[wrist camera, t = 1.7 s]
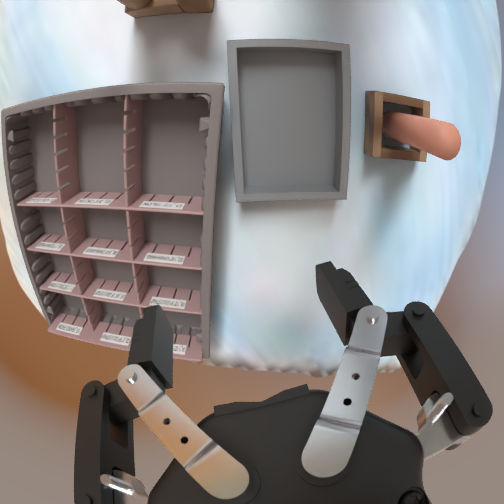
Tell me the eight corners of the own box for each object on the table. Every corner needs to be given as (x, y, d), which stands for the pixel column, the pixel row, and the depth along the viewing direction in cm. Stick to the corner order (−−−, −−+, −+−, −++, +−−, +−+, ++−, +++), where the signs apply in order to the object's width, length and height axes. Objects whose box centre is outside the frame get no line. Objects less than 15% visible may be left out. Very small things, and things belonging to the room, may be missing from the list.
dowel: (381, 109, 32) (434, 119, 20) (405, 113, 32) (462, 126, 20) (380, 137, 34) (431, 157, 23) (403, 139, 34) (458, 162, 22)
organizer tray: (230, 87, 31) (223, 81, 22) (213, 325, 51) (208, 368, 42) (33, 103, 29) (-9, 112, 20) (66, 303, 49) (45, 336, 40)
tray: (229, 47, 28) (226, 40, 25) (339, 49, 28) (349, 44, 24) (237, 192, 38) (236, 202, 35) (337, 189, 38) (346, 199, 34)
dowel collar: (365, 91, 31) (374, 90, 28) (418, 100, 30) (430, 101, 28) (363, 152, 35) (372, 156, 32) (415, 157, 35) (425, 162, 32)
